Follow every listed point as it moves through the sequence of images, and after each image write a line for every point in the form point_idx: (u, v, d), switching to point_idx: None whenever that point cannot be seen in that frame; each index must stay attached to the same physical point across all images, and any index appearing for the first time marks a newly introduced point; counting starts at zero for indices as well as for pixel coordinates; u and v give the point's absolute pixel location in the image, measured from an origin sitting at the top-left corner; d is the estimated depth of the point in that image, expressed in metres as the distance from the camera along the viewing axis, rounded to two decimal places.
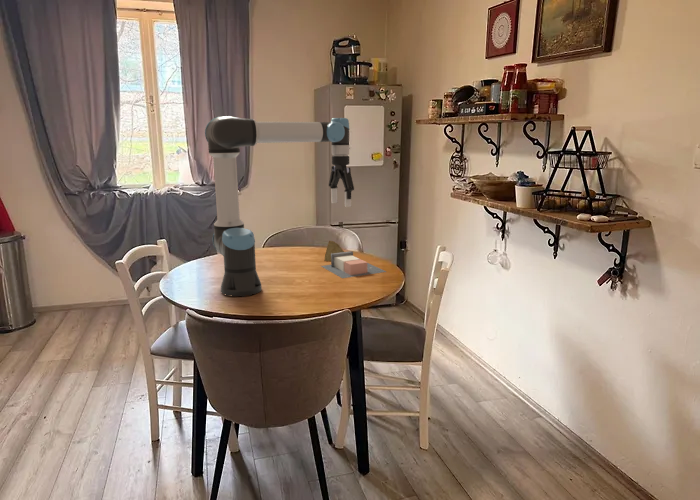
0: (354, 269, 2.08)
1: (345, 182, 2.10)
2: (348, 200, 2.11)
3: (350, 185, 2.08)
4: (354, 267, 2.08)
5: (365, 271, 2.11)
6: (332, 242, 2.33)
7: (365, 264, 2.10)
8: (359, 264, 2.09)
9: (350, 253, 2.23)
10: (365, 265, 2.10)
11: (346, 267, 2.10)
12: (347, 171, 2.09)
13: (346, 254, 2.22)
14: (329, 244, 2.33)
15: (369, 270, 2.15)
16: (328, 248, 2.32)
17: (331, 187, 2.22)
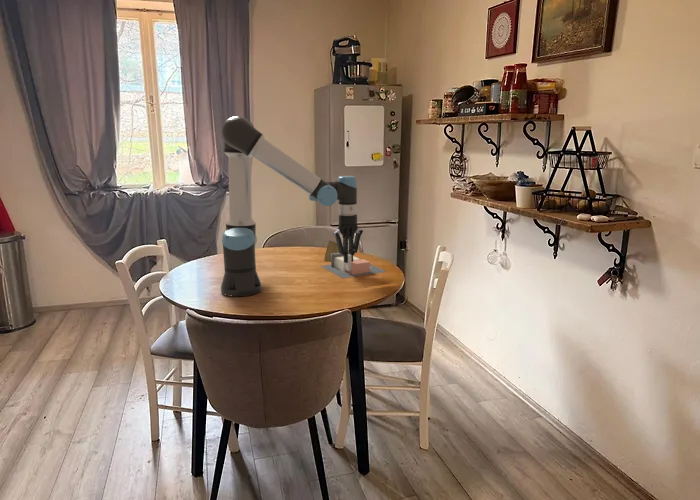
0: (357, 268, 2.09)
1: (343, 245, 2.07)
2: (346, 263, 2.09)
3: (339, 250, 2.06)
4: (356, 267, 2.08)
5: (367, 271, 2.11)
6: (332, 242, 2.33)
7: (367, 264, 2.11)
8: (361, 264, 2.09)
9: None
10: (367, 265, 2.11)
11: None
12: (335, 236, 2.04)
13: None
14: (329, 244, 2.33)
15: None
16: (328, 248, 2.32)
17: None
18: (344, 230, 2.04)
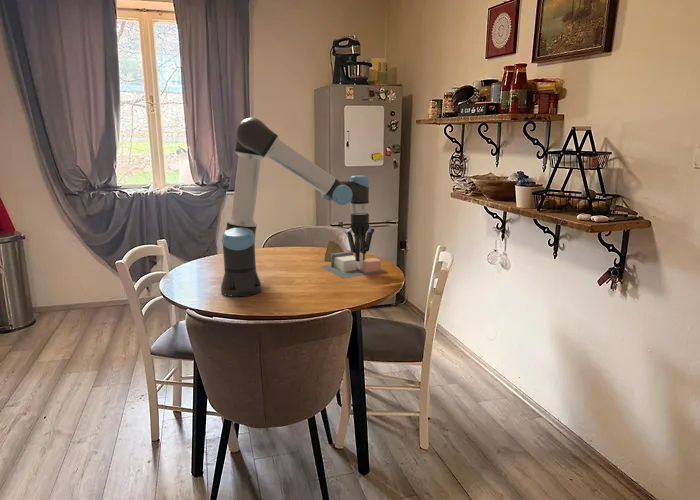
0: (368, 267, 2.11)
1: (355, 243, 2.10)
2: (358, 262, 2.11)
3: (351, 248, 2.09)
4: (368, 265, 2.11)
5: (379, 269, 2.14)
6: (332, 242, 2.33)
7: (379, 262, 2.13)
8: (373, 262, 2.12)
9: (350, 253, 2.23)
10: (379, 263, 2.13)
11: None
12: (347, 235, 2.07)
13: (346, 254, 2.22)
14: (329, 244, 2.33)
15: None
16: (328, 248, 2.32)
17: (360, 250, 2.12)
18: (356, 229, 2.06)
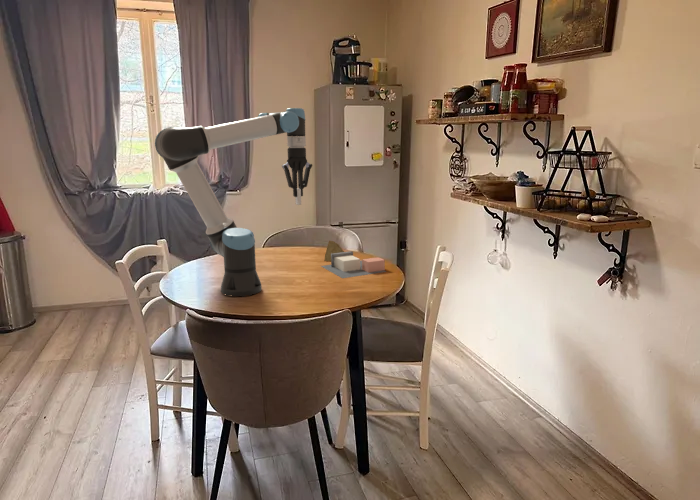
0: (372, 266, 2.12)
1: (292, 178, 2.08)
2: (296, 198, 2.10)
3: (288, 183, 2.07)
4: (372, 265, 2.12)
5: (382, 268, 2.14)
6: (332, 242, 2.33)
7: (382, 262, 2.14)
8: (377, 262, 2.12)
9: (350, 253, 2.23)
10: (382, 263, 2.14)
11: (364, 264, 2.14)
12: (284, 169, 2.05)
13: (346, 254, 2.22)
14: (329, 244, 2.33)
15: None
16: (328, 248, 2.32)
17: (298, 186, 2.10)
18: (293, 163, 2.05)
